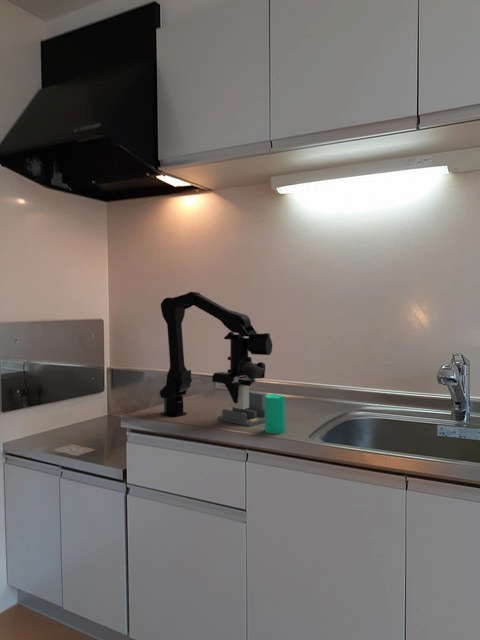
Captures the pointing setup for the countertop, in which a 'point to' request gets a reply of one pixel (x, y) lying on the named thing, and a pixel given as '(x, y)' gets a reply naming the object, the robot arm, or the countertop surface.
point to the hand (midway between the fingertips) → (239, 402)
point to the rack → (247, 411)
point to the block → (241, 398)
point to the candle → (274, 413)
